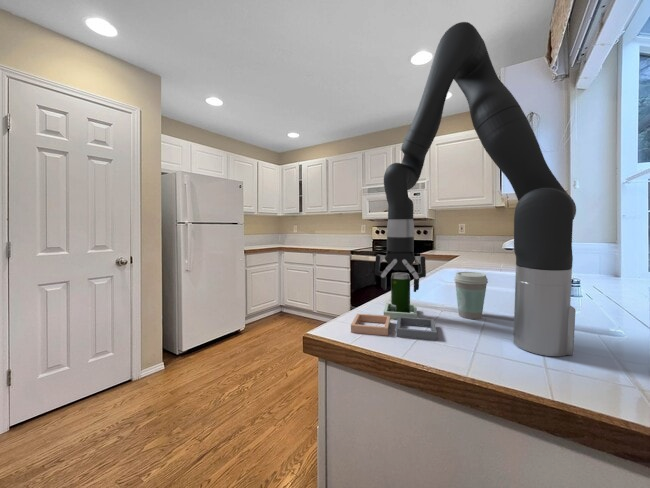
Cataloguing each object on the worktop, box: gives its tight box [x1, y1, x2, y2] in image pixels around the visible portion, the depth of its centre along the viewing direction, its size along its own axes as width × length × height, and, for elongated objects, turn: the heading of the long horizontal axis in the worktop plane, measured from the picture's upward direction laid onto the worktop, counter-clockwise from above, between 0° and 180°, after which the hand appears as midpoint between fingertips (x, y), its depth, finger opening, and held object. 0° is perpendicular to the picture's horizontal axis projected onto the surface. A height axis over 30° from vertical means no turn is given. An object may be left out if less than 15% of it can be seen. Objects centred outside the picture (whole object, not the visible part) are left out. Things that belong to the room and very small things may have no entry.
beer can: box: [390, 271, 411, 313], centre depth 82 cm, size 5×5×12 cm
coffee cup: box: [453, 271, 489, 320], centre depth 79 cm, size 8×8×12 cm
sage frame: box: [383, 302, 418, 320], centre depth 82 cm, size 9×9×2 cm
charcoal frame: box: [395, 317, 438, 341], centre depth 70 cm, size 9×9×2 cm
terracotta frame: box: [350, 313, 391, 336], centre depth 73 cm, size 9×9×2 cm
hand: (399, 290), depth 82 cm, fingers open, 8 cm apart
